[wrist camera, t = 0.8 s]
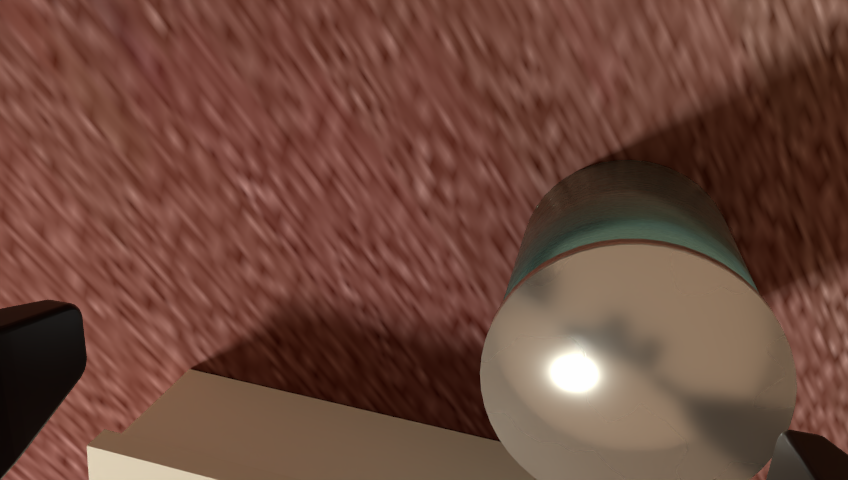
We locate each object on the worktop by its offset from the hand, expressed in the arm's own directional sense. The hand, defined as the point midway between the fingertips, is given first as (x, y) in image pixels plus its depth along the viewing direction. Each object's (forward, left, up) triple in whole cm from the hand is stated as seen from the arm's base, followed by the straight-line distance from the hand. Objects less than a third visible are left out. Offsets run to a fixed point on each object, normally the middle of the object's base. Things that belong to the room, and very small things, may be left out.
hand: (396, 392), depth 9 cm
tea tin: (-3, +2, -12) cm, 13 cm away
